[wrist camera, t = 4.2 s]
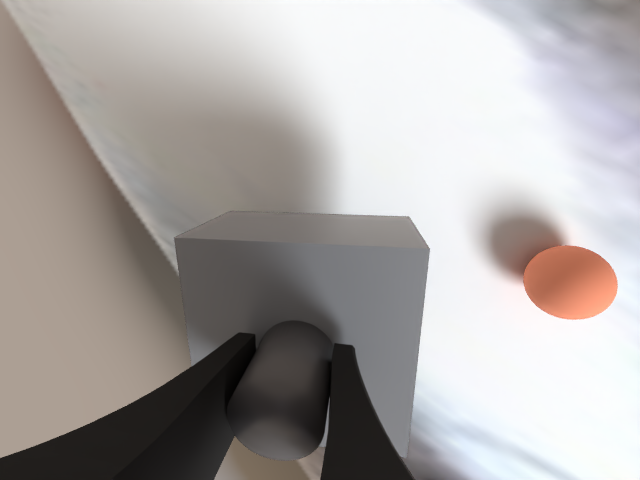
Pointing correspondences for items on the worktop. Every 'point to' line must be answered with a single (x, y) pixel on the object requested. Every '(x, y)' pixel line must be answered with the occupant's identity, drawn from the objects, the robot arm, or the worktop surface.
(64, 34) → the worktop surface
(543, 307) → the ball
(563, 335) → the worktop surface
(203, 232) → the grey block
